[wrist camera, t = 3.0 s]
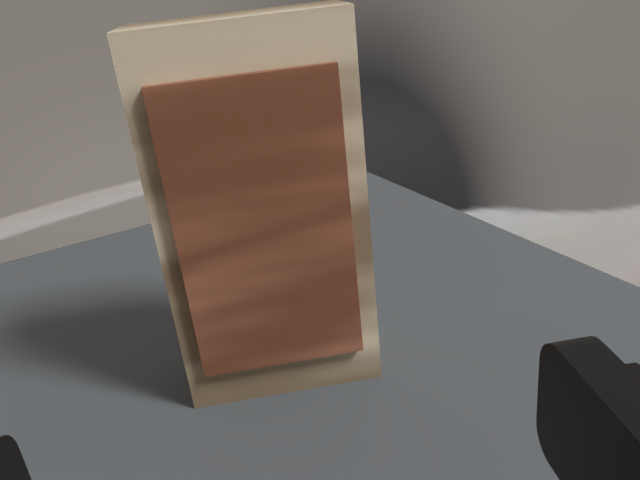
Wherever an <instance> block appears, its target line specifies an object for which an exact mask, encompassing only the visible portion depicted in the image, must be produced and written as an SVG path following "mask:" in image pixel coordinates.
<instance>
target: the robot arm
mask: <svg viewBox="0 0 640 480" xmlns="http://www.w3.org/2000/svg"><path fill="white" fill-rule="evenodd" d="M536 426H537V434H538V438H539V442H540V445H541V448H542V451H543V453H544V456H545V458H546V460H547V461H548V463H549V465H550V466H551V468H552V469H553V471H554V472H555V474H556V475H557V477H558V478H559V480H640V364H638V363H636V362H634V363H628V364H625V363H624V362H623V361H622V360H621V359H620V358H619V357H618V356H617V355H616V354H615V353H613V352H612V351H611V350H610V349H609V348H608V347H607V346H606V345H605V344H604V343H603V342H602V341H601V340H600V339H599V338H597V337H595V336H587V337H581V338H575V339H569V340H564V341H558V342H552V343H546V344H544V345H543V346H542V348H541V351H540V357H539V376H538V395H537V415H536ZM0 480H32V479H31V477H30V474H29V472H28V469H27V466H26V464H25V461H24V459H23V456H22V454H21V451H20V449H19V446H18V444H17V442H16V441H15V439H14V438H13V437H11V436H10V435H3V436H0Z"/></svg>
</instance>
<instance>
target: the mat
mask: <svg viewBox="0 0 640 480" xmlns="http://www.w3.org/2000/svg"><path fill="white" fill-rule="evenodd" d="M366 174H367V187H368V200H369V213H370V227H371V240H372V253H373V266H374V280H375V293H376V306H377V319H378V333H379V346H380V359H381V372H382V377H376V378H370V379H365V380H359V381H353V382H347V383H341V384H336V385H330V386H324V387H318V388H313V389H307V390H301V391H295V392H289V393H284V394H278V395H272V396H266V397H260V398H255V399H249V400H243V401H237V402H232V403H226V404H220V405H214V406H208V407H203V408H197V409H195V408H194V404H193V400H192V395H191V391H190V387H189V383H188V378H187V374H186V370H185V366H184V361H183V357H182V353H181V348H180V344H179V340H178V336H177V331H176V327H175V323H174V319H173V314H172V310H171V306H170V302H169V297H168V293H167V289H166V285H165V280H164V276H163V272H162V268H161V263H160V259H159V255H158V251H157V246H156V242H155V238H154V234H153V229H152V225H151V224H148V225H144V226H140V227H137V228H133V229H129V230H125V231H122V232H118V233H114V234H110V235H107V236H103V237H100V238H96V239H92V240H88V241H85V242H81V243H77V244H73V245H70V246H66V247H62V248H58V249H55V250H51V251H47V252H43V253H40V254H36V255H32V256H28V257H25V258H21V259H17V260H14V261H10V262H6V263H2V264H0V436H3V435H10V436H11V437H13V438H14V439H15V441H16V442H17V444H18V446H19V449H20V451H21V454H22V456H23V459H24V461H25V464H26V466H27V469H28V472H29V474H30V477H31V479H32V480H559V478H558V477H557V475H556V474H555V472H554V471H553V469H552V468H551V466H550V465H549V463H548V461H547V460H546V458H545V456H544V453H543V451H542V448H541V445H540V442H539V438H538V434H537V426H536V415H537V395H538V376H539V357H540V351H541V348H542V346H543V345H544V344H546V343H552V342H558V341H564V340H569V339H575V338H581V337H587V336H595V337H597V338H599V339H600V340H601V341H602V342H603V343H604V344H605V345H606V346H607V347H608V348H609V349H610V350H611V351H612V352H613V353H615V354H616V355H617V356H618V357H619V358H620V359H621V360H622V361H623V362H624V363H625V364H628V363H634V362H636V363H638V364H640V287H637V286H635V285H633V284H630V283H628V282H625V281H623V280H621V279H618V278H616V277H614V276H611V275H609V274H607V273H604V272H602V271H600V270H597V269H595V268H593V267H590V266H588V265H585V264H583V263H581V262H578V261H576V260H574V259H571V258H569V257H567V256H564V255H562V254H560V253H557V252H555V251H552V250H550V249H548V248H545V247H543V246H541V245H538V244H536V243H534V242H531V241H529V240H527V239H524V238H522V237H519V236H517V235H515V234H512V233H510V232H508V231H505V230H503V229H501V228H498V227H496V226H494V225H491V224H489V223H487V222H484V221H482V220H479V219H477V218H475V217H472V216H470V215H468V214H465V213H463V212H461V211H458V210H456V209H453V208H451V207H449V206H446V205H444V204H442V203H439V202H437V201H435V200H432V199H430V198H428V197H425V196H423V195H421V194H418V193H416V192H414V191H411V190H409V189H406V188H404V187H402V186H399V185H397V184H394V183H392V182H390V181H387V180H385V179H383V178H381V177H378V176H376V175H373V174H371V173H369V172H366Z"/></svg>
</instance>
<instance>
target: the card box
mask: <svg viewBox="0 0 640 480" xmlns="http://www.w3.org/2000/svg"><path fill="white" fill-rule="evenodd" d="M107 38H108V42H109V46H110V50H111V55H112V59H113V63H114V67H115V72H116V76H117V80H118V85H119V89H120V93H121V97H122V101H123V105H124V110H125V114H126V118H127V123H128V127H129V131H130V136H131V140H132V144H133V148H134V152H135V157H136V161H137V165H138V170H139V174H140V178H141V182H142V187H143V191H144V195H145V199H146V203H147V208H148V212H149V217H150V220H151V225H152V229H153V234H154V238H155V242H156V246H157V251H158V255H159V259H160V263H161V268H162V272H163V276H164V280H165V285H166V289H167V293H168V297H169V302H170V306H171V310H172V314H173V319H174V323H175V327H176V331H177V336H178V340H179V344H180V348H181V353H182V357H183V361H184V366H185V370H186V374H187V378H188V383H189V387H190V391H191V395H192V400H193V404H194V408H195V409H197V408H203V407H208V406H214V405H220V404H226V403H232V402H237V401H243V400H249V399H255V398H260V397H266V396H272V395H278V394H284V393H289V392H295V391H301V390H307V389H313V388H318V387H324V386H330V385H336V384H341V383H347V382H353V381H359V380H365V379H370V378H376V377H382V372H381V359H380V346H379V333H378V319H377V306H376V293H375V280H374V266H373V253H372V240H371V227H370V213H369V200H368V187H367V174H366V161H365V148H364V135H363V122H362V107H361V95H360V81H359V68H358V55H357V41H356V28H355V16H354V4H352V3H348V2H343V1H338V0H329V1H321V2H312V3H305V4H295V5H287V6H278V7H270V8H261V9H253V10H245V11H237V12H228V13H219V14H211V15H202V16H194V17H185V18H177V19H169V20H160V21H152V22H144V23H135V24H127V25H123V26H121V27H119V28H116V29H114V30H112V31H110V32H108V33H107Z"/></svg>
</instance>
